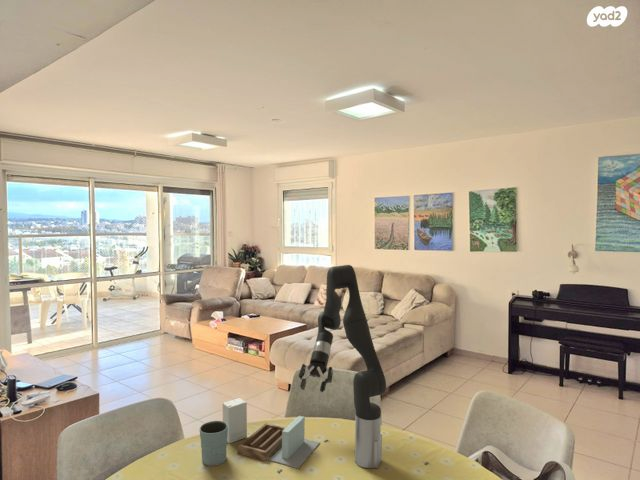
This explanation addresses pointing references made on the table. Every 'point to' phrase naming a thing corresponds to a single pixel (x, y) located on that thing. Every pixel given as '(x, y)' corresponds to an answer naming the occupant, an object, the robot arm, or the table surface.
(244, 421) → the skincare box
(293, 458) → the grey mat
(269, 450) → the walnut box
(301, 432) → the cover plate
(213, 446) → the grey-green cup
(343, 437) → the table surface
